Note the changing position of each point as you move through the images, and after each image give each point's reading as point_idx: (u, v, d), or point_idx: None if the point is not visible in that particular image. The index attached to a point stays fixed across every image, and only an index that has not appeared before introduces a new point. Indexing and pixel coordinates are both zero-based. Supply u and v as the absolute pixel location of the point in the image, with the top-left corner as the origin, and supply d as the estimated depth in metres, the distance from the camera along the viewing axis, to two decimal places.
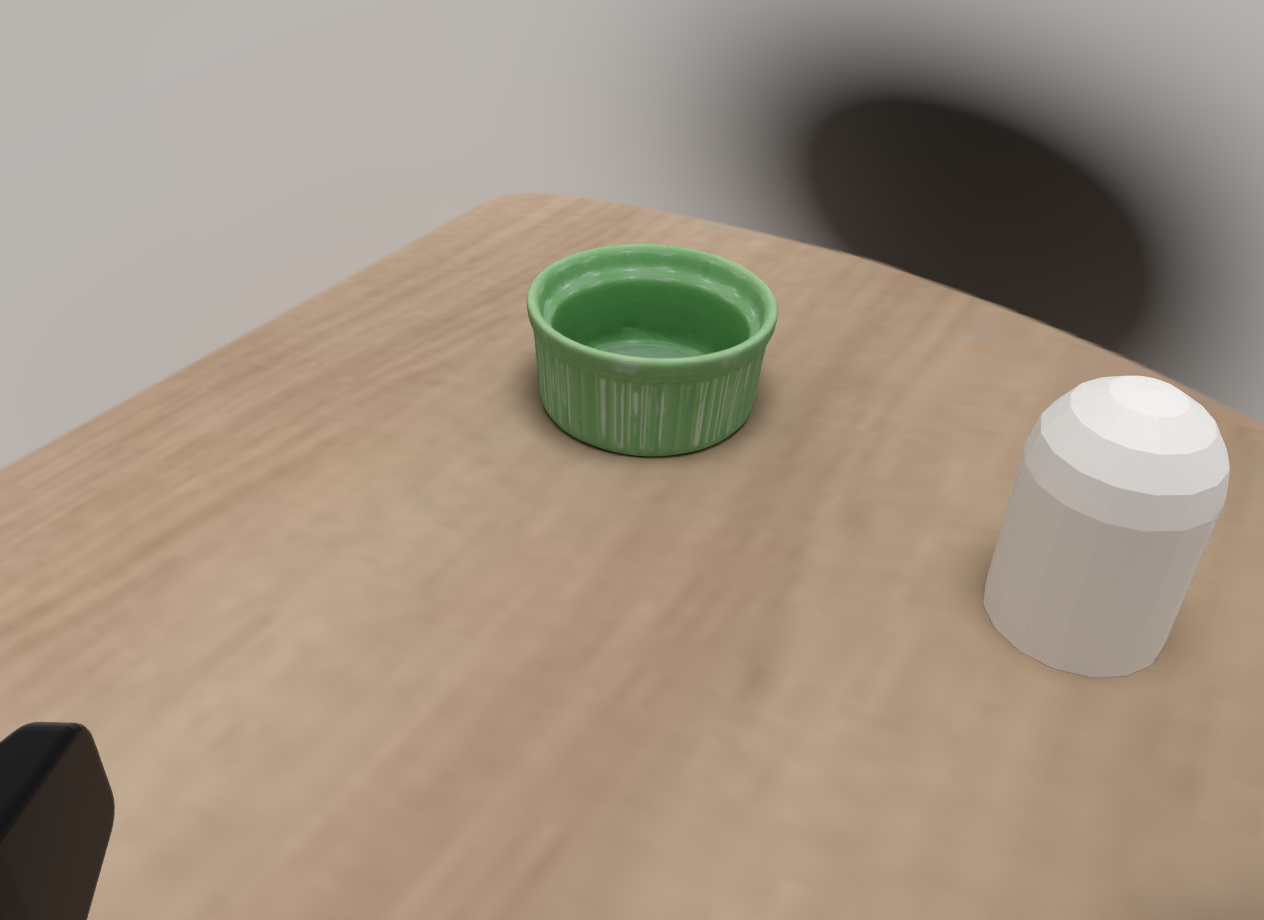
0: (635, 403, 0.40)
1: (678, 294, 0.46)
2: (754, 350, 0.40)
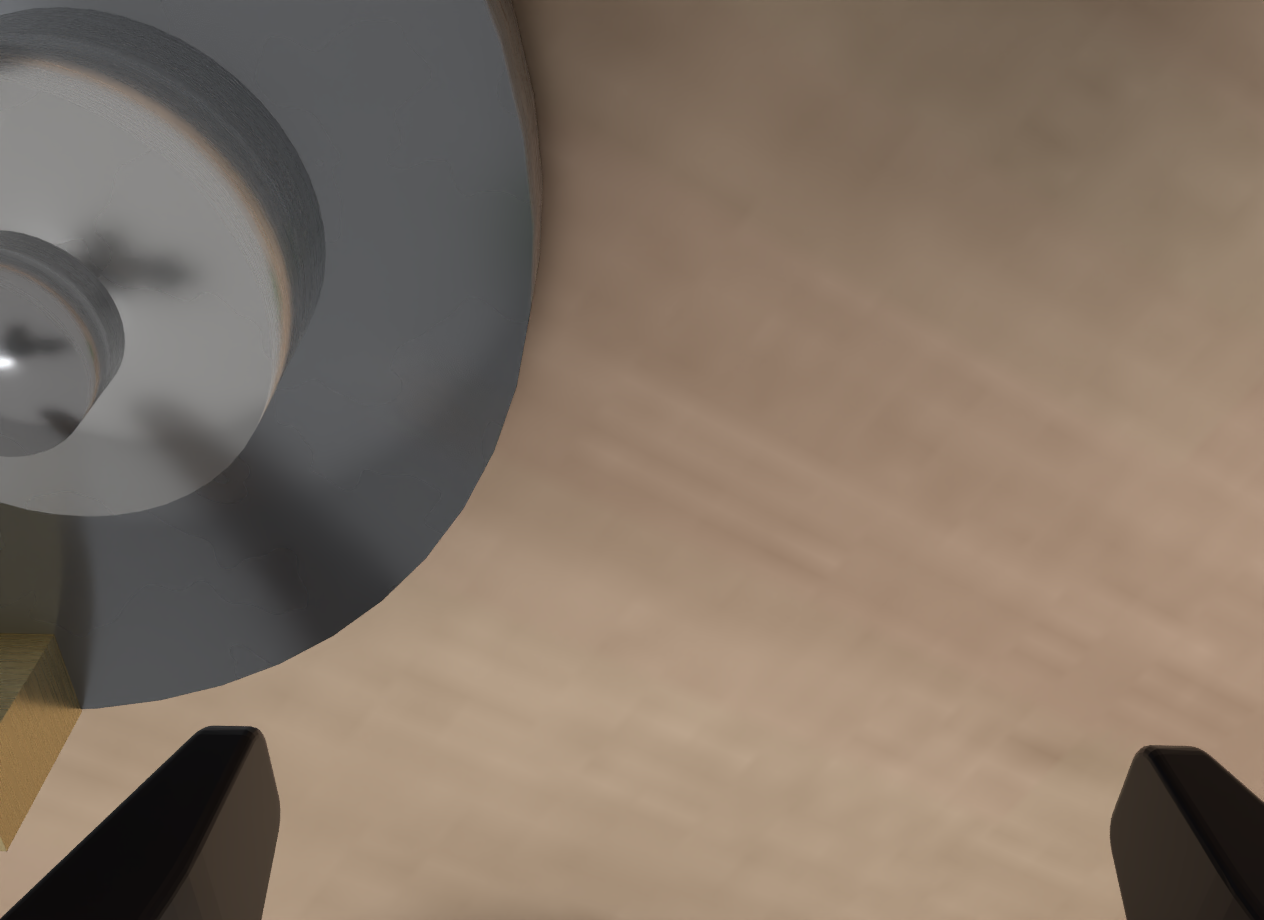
0: None
1: None
2: None
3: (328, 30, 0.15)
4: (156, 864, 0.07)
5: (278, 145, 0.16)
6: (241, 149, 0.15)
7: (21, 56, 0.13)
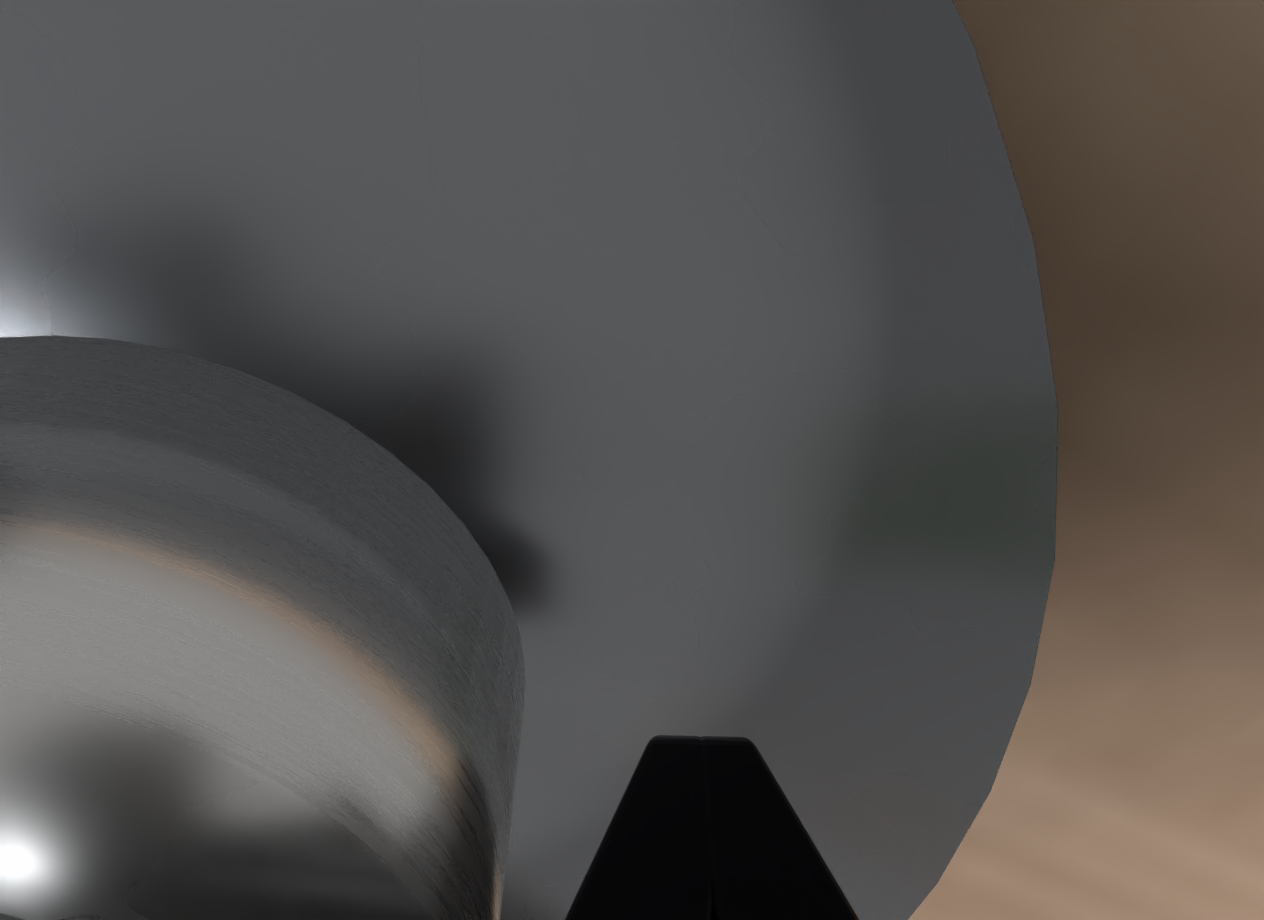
0: None
1: None
2: None
3: (732, 384, 0.08)
4: (672, 875, 0.07)
5: (466, 578, 0.08)
6: (416, 642, 0.07)
7: None
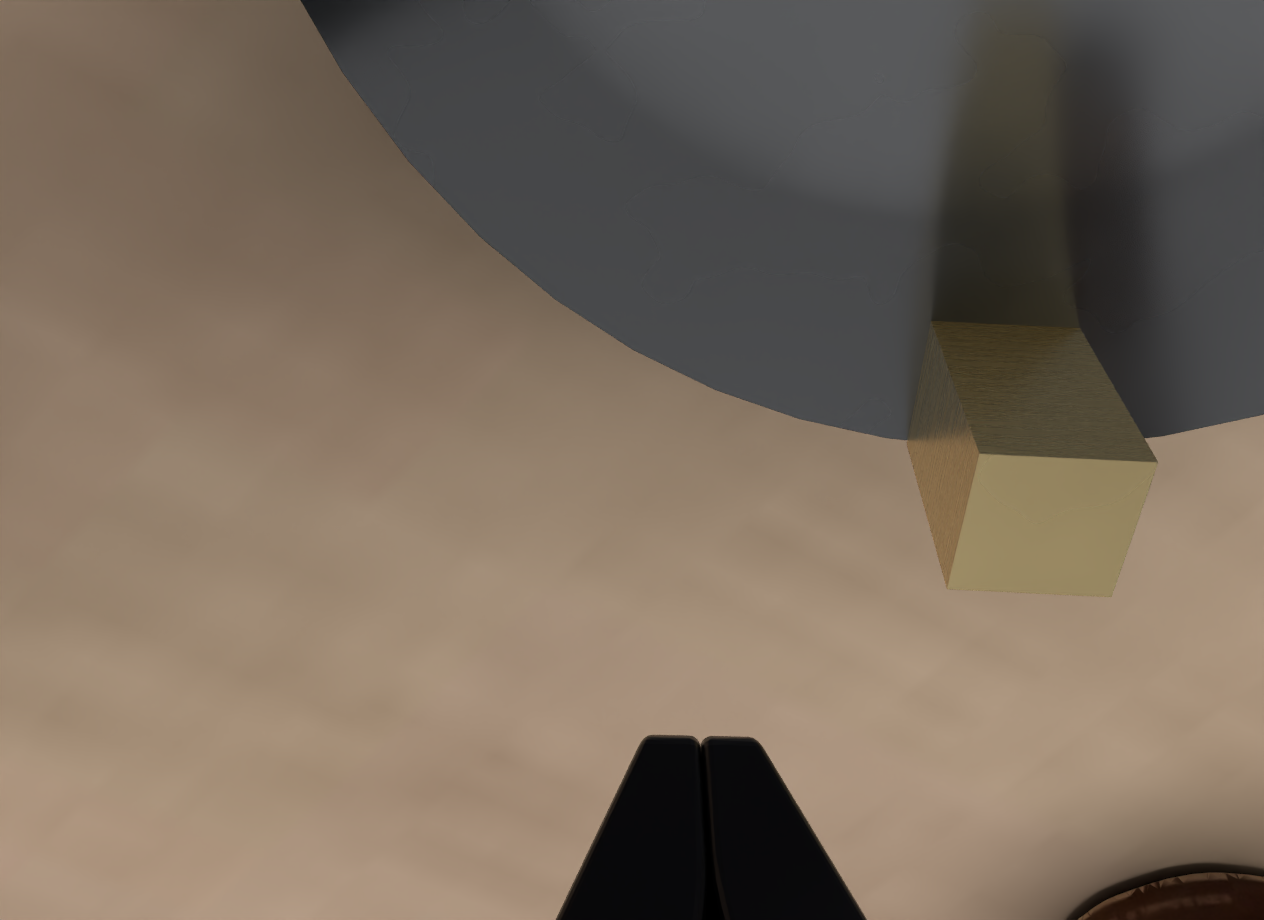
0: None
1: None
2: None
3: None
4: (662, 876, 0.07)
5: None
6: None
7: None
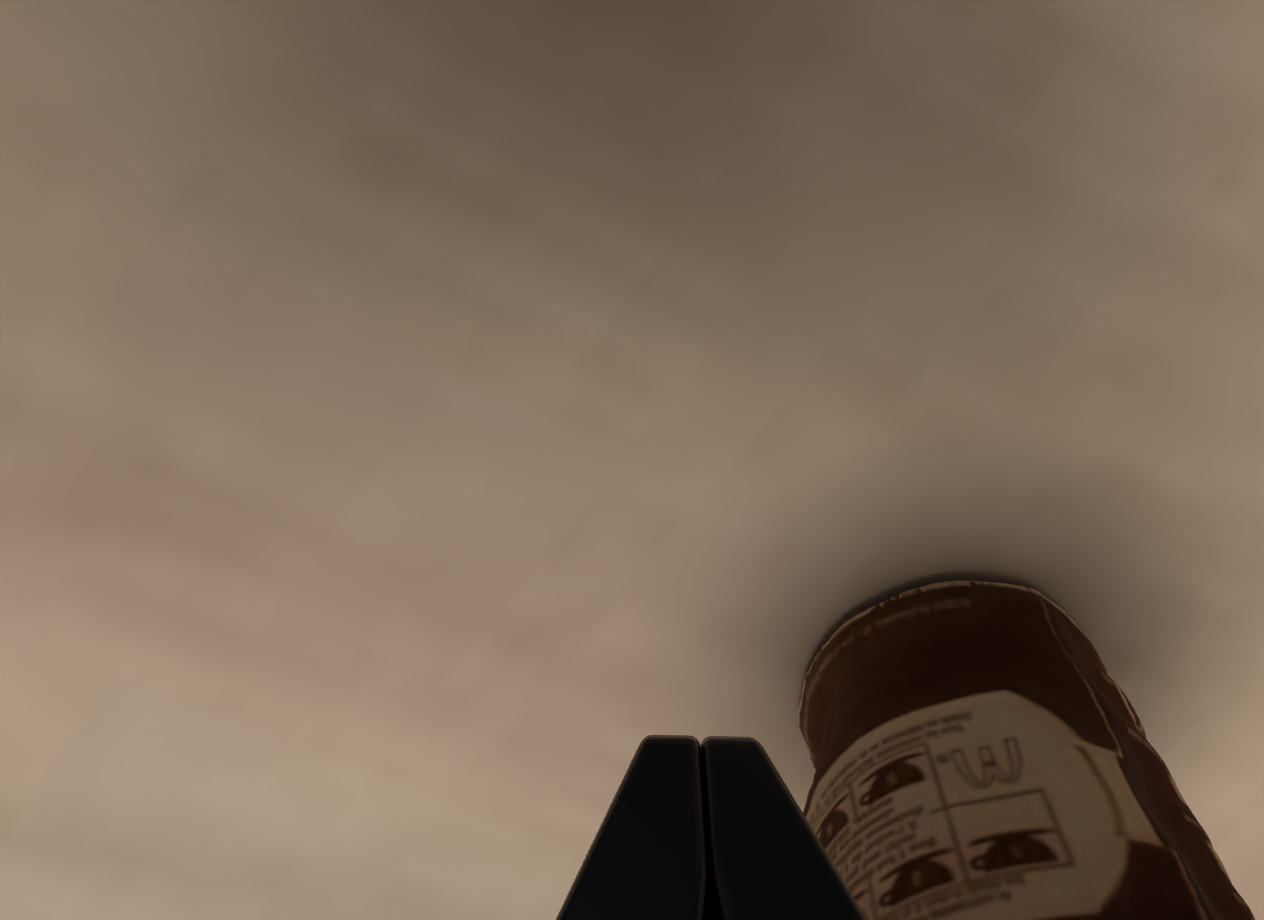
0: None
1: None
2: None
3: None
4: (662, 874, 0.07)
5: None
6: None
7: None
